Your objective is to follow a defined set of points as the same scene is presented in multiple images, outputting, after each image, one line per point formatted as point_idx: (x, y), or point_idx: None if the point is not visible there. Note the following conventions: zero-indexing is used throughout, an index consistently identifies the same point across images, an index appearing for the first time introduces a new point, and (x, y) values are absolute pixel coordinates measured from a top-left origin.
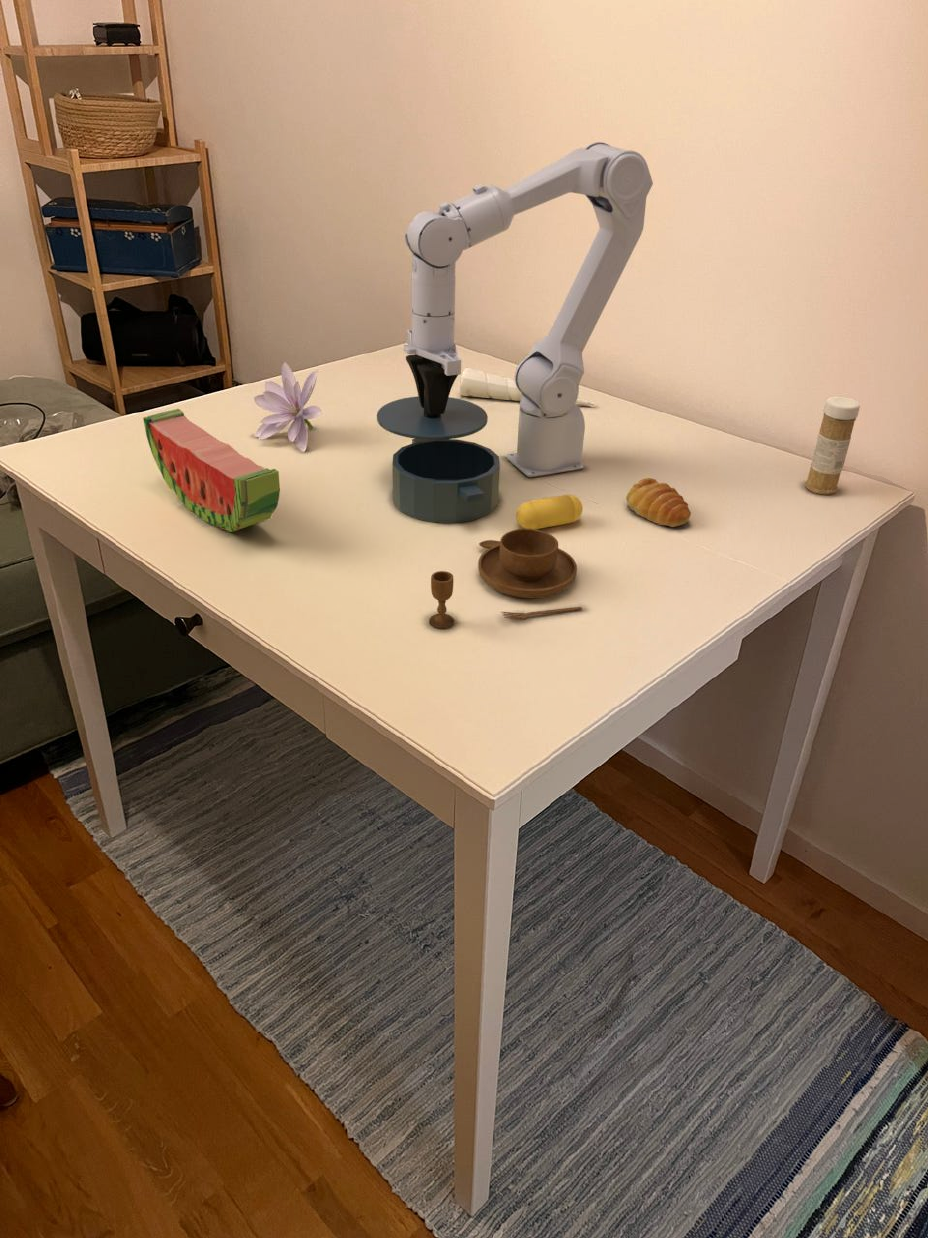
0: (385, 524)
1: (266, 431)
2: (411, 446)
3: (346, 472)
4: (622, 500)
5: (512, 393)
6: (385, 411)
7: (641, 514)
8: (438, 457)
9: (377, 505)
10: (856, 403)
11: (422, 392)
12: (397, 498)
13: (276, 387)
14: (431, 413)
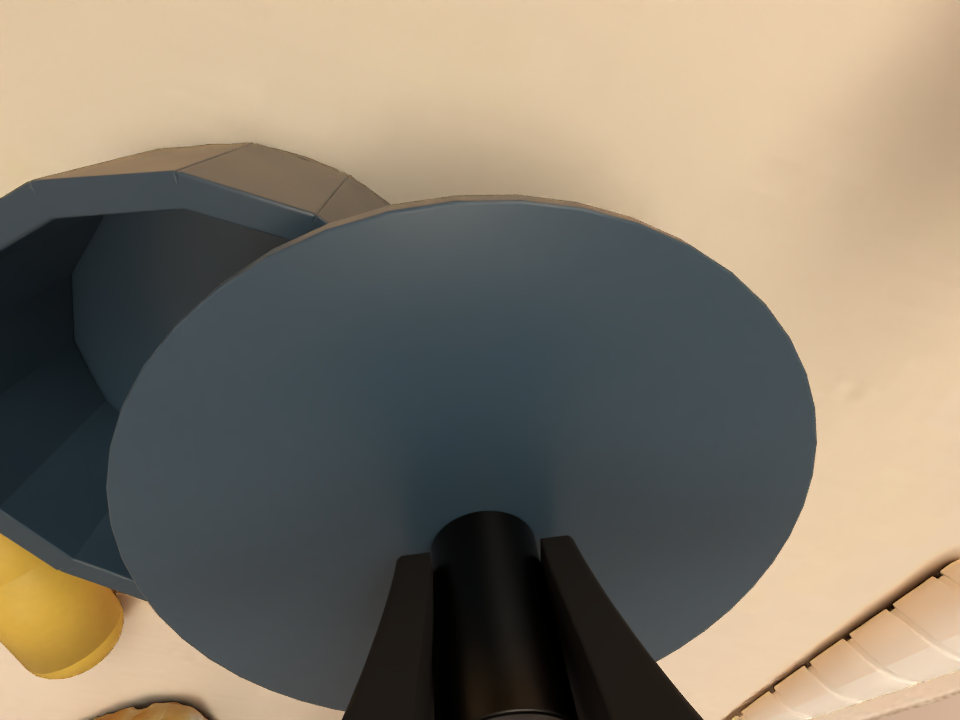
0: (19, 33)
1: None
2: None
3: (637, 6)
4: (225, 695)
5: (852, 657)
6: (662, 305)
7: (119, 714)
8: None
9: (239, 57)
10: None
11: (571, 641)
12: (173, 150)
13: None
14: (397, 568)
